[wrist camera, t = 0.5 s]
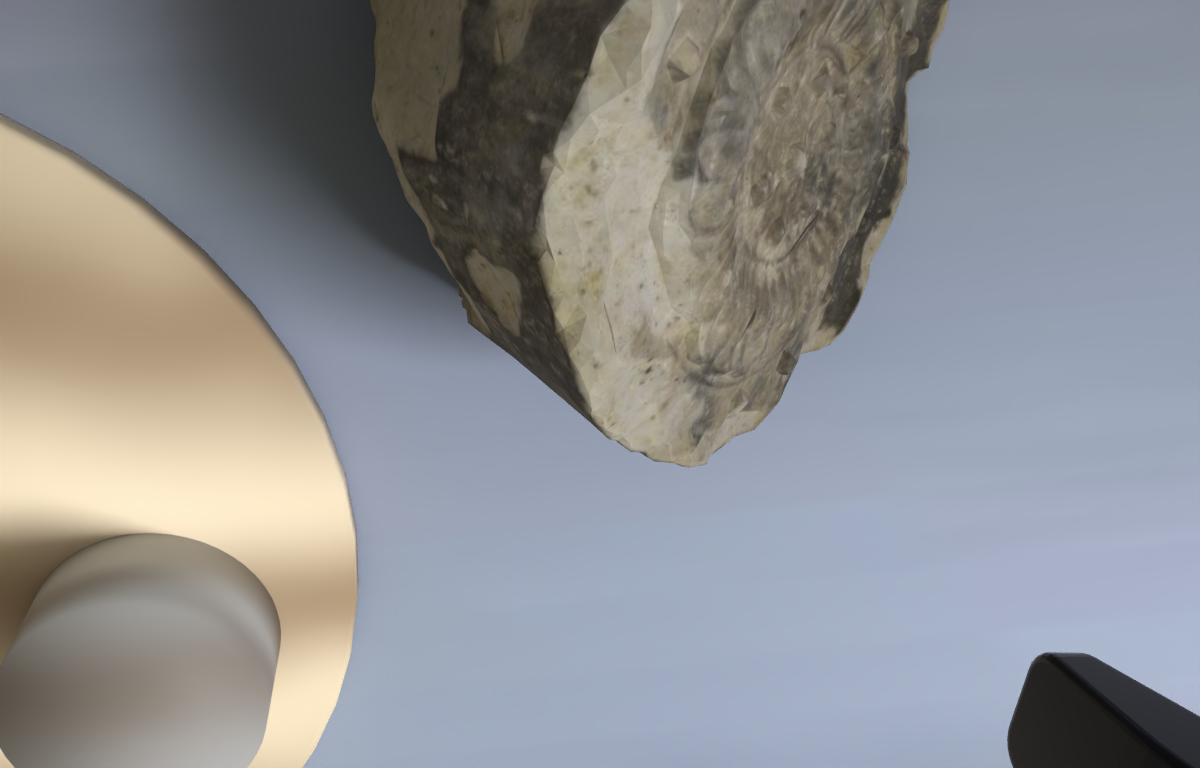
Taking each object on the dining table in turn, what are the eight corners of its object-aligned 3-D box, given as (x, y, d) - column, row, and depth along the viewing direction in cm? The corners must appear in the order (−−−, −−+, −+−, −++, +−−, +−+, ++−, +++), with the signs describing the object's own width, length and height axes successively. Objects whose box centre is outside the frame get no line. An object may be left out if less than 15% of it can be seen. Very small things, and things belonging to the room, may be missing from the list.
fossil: (973, 292, 23) (928, 620, 15) (568, 303, 27) (359, 575, 19) (950, -314, 18) (864, -295, 10) (452, -203, 22) (97, -124, 14)
